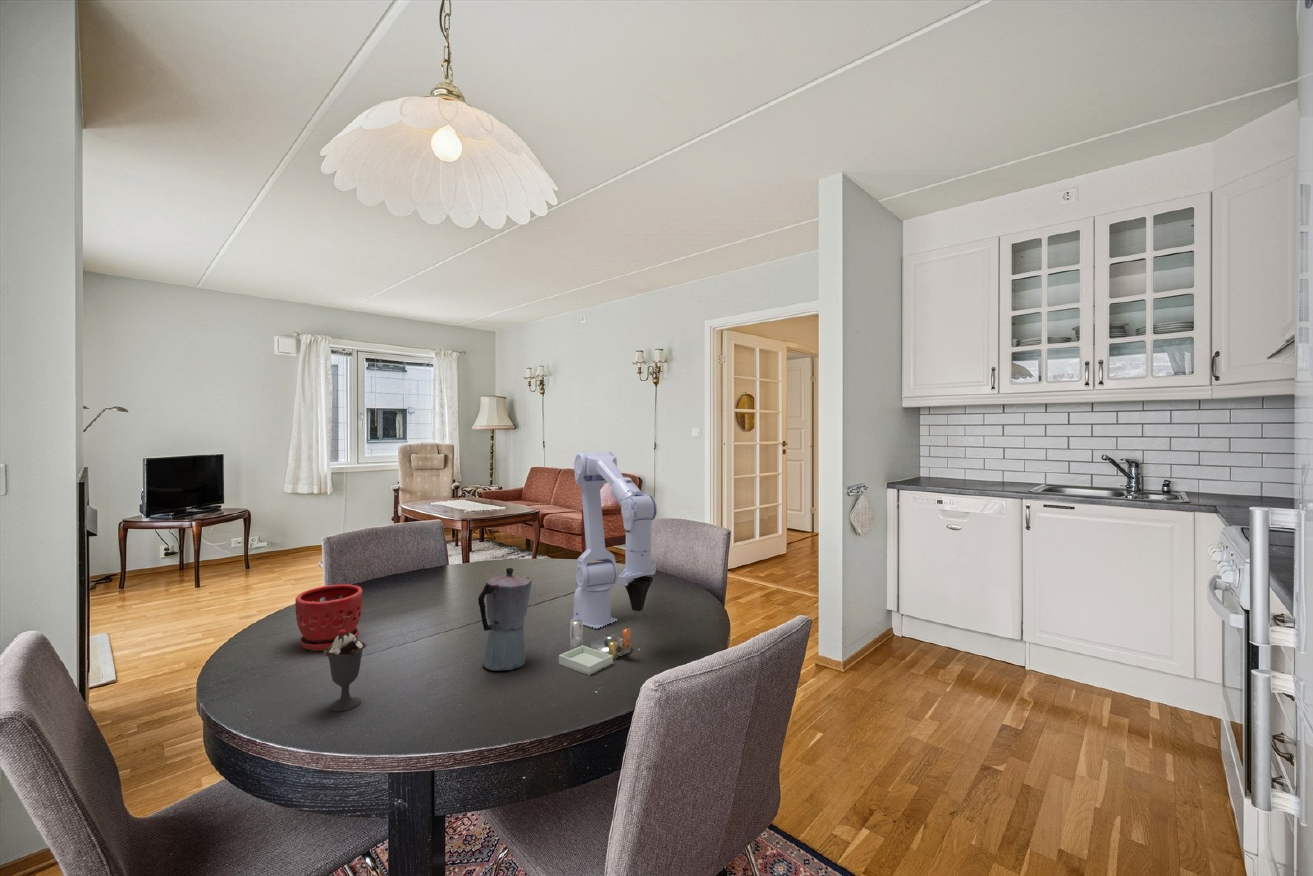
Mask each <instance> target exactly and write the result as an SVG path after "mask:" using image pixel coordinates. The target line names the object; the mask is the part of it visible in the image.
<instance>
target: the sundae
mask: <svg viewBox="0 0 1313 876" xmlns="http://www.w3.org/2000/svg"><path fill="white" fill-rule="evenodd" d="M338 621H340V622H341V619H338ZM341 623H342V622H341ZM367 646H368V644H366V643H365V642H363V641H361V640H358V639H357V638H355V636H354V635H353V634H352V633H350V632H347V631H346V630H344V625H343V623H342V629H341V630H339V631H338V636H337V637H336V638H335V640H334V642H333V644H332V646H329V647H326V648H325V649H324V651H323V656H324V657H328V661H329V668H330V675H331V679H332V682H333V683H334V684H336V685H338V686H340V687H341V692H340V693H341V694H340V698H339V699H336V700H335V701H333V702H331V704H329V706H328V709H329V710H330V711H331V712H345V711H350V710H352V709H355V708H356V707H358V706H359V705H360V704H361V703H362V699H361V698H360V697H357V696H351V694H350V685H351V684H352V683H353V682H355V681H356V679H357V678H358V676H359V673H360V668H361V663H362V657H363V656H362V655H363V651H364V649H365V648H367Z"/></svg>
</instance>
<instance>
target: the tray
mask: <svg viewBox="0 0 1313 876" xmlns="http://www.w3.org/2000/svg"><path fill="white" fill-rule="evenodd" d="M558 664H559V665H560V666H564V667H566V668H568V669H571V670H573V671H576V672H579V673H581V674H583V675H586V674H587V676H589V677H590V676H591V674H592V675H593V673H594V674H595V673H597V671H598V672H600V671H602V670H603V669H602V668H604V669H606V668H608V667H610V666H611V665H610V664H612V665H613V664H614V660H613V656H612V655H609V654H606V653H603V652H601V651H598V650H595V649H592V648H591V647H589V646H586V645H582V646H580V647H577V648H575V649H573V650H570V649H569V650H568V651H566V652H564V653H561V654H559V655H558ZM609 665H610V666H609ZM607 666H608V667H607ZM605 667H606V668H605ZM601 669H602V670H601ZM599 670H600V671H599Z"/></svg>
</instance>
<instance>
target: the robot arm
mask: <svg viewBox="0 0 1313 876" xmlns="http://www.w3.org/2000/svg"><path fill="white" fill-rule="evenodd" d="M617 459H618V458H617V456H616V455H615V453H613V452H612V451H606V452H605V451H604V452H602V451H601V452H599V451H598V452H597V451H596V452H595V451H592V452H584V451H579V452H578V453H577V454H576V456H575V459H574V462H573V469H574V470H573V471H574V480H575V484H576V485H577V486H578V487H580V489H581V490H580V491H581V492H580V493H581V501H582V502H581V503H582V514H583V525H584V527H583V528H584V538H585V551H584V552H583V553H581V555H579V557H578V558H577V559H576V569H575V578H576V579H575V580H576V583H577V585H578V587H577V588H576V589H575V592H574V595H573V618H572V619H570V621H571V620H573V619H581V620H583V626H586V627H589V628H592V627H593V628H592V629H595V628H596V630H598V628H599V629H601V628H604V627H606V626H608V625H607V624H609V623H611V624H614V623H616V622H618V621H617V620H618V618H615V617H612V616H611V612H612V611H611V609H612V608H611V606H612V603H611V602H612V589H613V588H614V585H615V584H616V583H617V585H619V586H624V587H625V590H626V592H627V595H628V598H629V603H630V607H631V610H632V611H635V612H641V611H643V610H644V606H645V603H646V599H647V595H648V592H649V589H650V588H651V585H652V584H653V581H654V578H653V577H652V576H653V575H655V574H656V572H657V571H656V570H657V563H656V562H653V561H652V521H654V520H655V518H656V516H657V514H658V513H657V512H658V511H657V510H658V509H657V506H658V505H657V503H656V499H655V498H654V496H653V494H646V493H643V492H642V491H641V490H640V488H639V487H638V486H637V484H635V482H634V481H633V479H631V477H627V476H625V477H624V476H623V474H622V473H621V471H620V470H619V468H618V464H617V463H618V462H617V461H618V460H617ZM606 484H608V485H610V486H611V489H610V493H611V495H612V497H613V498H614V499H615V500H616V502H617V503H618V504H619V506H620V507H621V508H620V509H621V510H620V513H621V517H622V521H623V529H624V530H625V555H624V556H625V567H624V569H623V571H622V572H621V574H619V569H618V566H617V562H616V557H615V555H614V554H613V553H612V552H610V551H609V550H608V549H607V548H606V543H605V542H606V541H605V531H604V520H603V519H604V518H603V509H602V499H601V497H602V496H601V488H602V487H603V486H604V485H606ZM599 560H600V561H599ZM592 561H594V562H592ZM595 561H596V562H595ZM615 621H616V622H615ZM613 622H614V623H613ZM605 625H606V626H605ZM609 625H610V624H609ZM603 626H604V627H603ZM600 627H601V628H600Z"/></svg>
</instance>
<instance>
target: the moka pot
mask: <svg viewBox="0 0 1313 876" xmlns="http://www.w3.org/2000/svg"><path fill="white" fill-rule="evenodd" d="M505 570H506V572H505V573H506V575H503V576H502V575H501V576H496V577H491V578H489V579H488V580H487V581H486V582H485V585H484V587H483V589H482V591H481V592H480V594H479V595H478V597H477V599H478V605H479V610H480V617H481V620H482V626H483V631H484V632H486V631H488V633H487V638H486V644H485V648H484V653H483V659H482V666H483V667H484V668H485V669H487V670H489V671H495V672H496V671H498V672H500V671H501V672H502V671H503V672H504V671H512V670H516V669H519V668H521V667H523V666H525V664H526V651H525V650H526V649H525V635H524V634H525V633H524V624H525V617H526V616H527V611H528V606H529V599H530V595H531V594H530V593H531V588H532V579H530V577H529V576H525V575H513V573H514V568H512V567H507V568H506V569H505ZM485 598H486V604H485ZM487 618H488V619H487ZM488 621H489V622H488Z"/></svg>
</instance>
